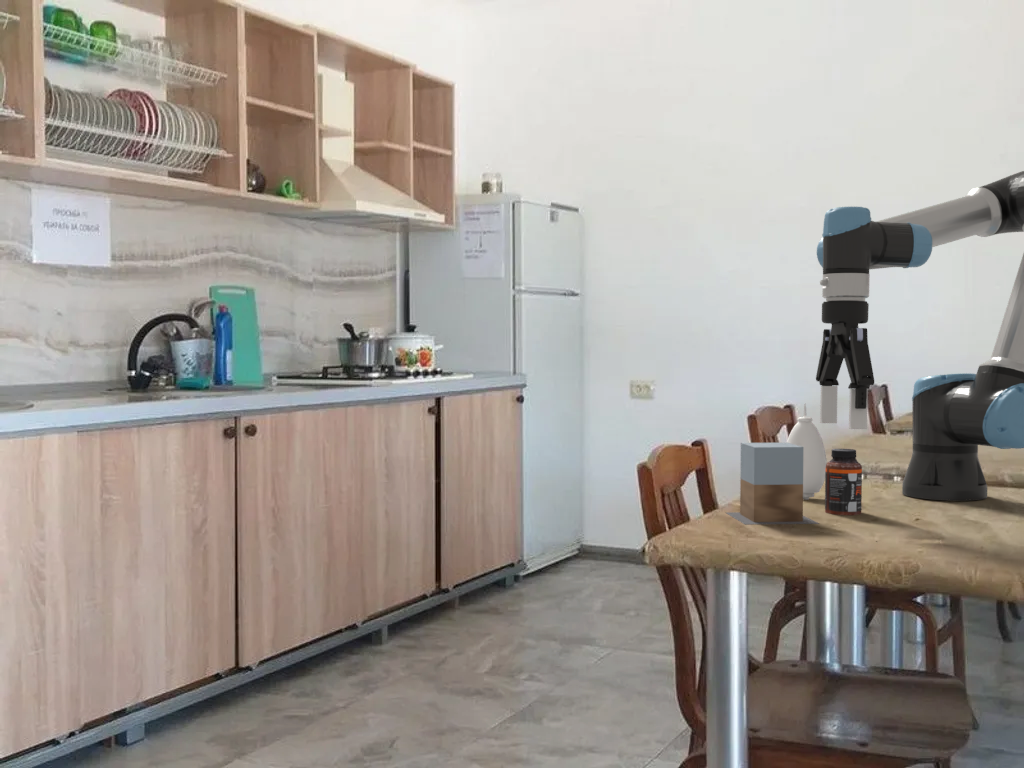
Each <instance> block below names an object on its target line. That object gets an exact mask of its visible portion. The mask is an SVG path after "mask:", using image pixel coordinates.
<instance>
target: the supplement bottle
mask: <svg viewBox="0 0 1024 768" xmlns="http://www.w3.org/2000/svg"><path fill="white" fill-rule="evenodd" d="M830 457H831V459H830V461H827V464H826V469H825V480H824V484H825V487H824V489H825V490H824V512H825V513H826V514H829V515H835V516H836V515H837V516H857V515H858V516H859V515H861V514H862V510H863V509H862V507H863V503H862V499H863V497H862V494H863V493H862V492H863V491H862V488H863V487H862V486H863V485H862V484H863V466H862V463H860V462H859V461H858V460H857V449H853V448H833V449H831V456H830Z"/></svg>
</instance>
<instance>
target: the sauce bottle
mask: <svg viewBox="0 0 1024 768" xmlns="http://www.w3.org/2000/svg"><path fill="white" fill-rule="evenodd" d="M785 443H791V444H794V445H798V446H801V447H803V501H804V500H805V501H806V500H810V498H813V497H815V494H816V493H819V492H820V491H821V489H822V487H823V486H824V484H825V469H826V464H827V463H828V461H827V454H826V453H827V452H826V448H825V445H824V441H823V439H822V437H821V434H820V432H819V430H818V428H817V426H816V425H815V424H814V423H813V418H812V417H809V416H807V404H806V403H804V405H803V416H800V417H797V422H796V424H795V425H794V426H793V427H792V429H791V431H790V433H789V435H788V437H787V440H786V442H785Z"/></svg>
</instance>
